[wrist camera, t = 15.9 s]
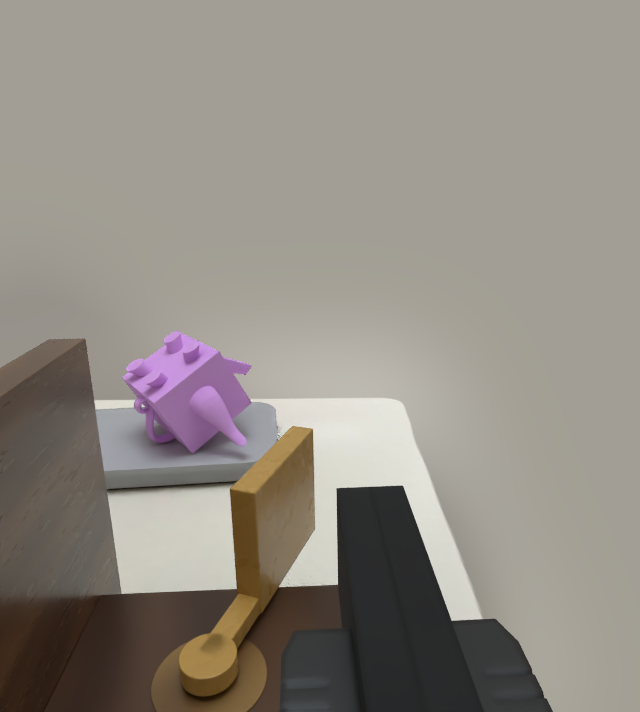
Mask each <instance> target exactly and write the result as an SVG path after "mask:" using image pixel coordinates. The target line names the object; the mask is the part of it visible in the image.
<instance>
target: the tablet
mask: <svg viewBox="0 0 640 712" xmlns="http://www.w3.org/2000/svg"><path fill="white" fill-rule="evenodd" d="M141 408H142V409H144V408H145V407H141ZM95 411H96V418H97V425H98V432H99V439H100V446H101V453H102V460H103V467H104V474H105V481H106V488H107V489H113V488H130V487H146V486H162V485H179V484H195V483H211V482H228V481H238V480H239V479H240V478H241V477H242V476H243V475H244V474H245V473H246V472H247V471H248V470H249V469H250V468H251V467H252V466H253V465H254V464H255V463H256V462H257V461H258V460H259V459H260V458H261V457H262V456H263V455H264V454H265V453H266V452H267V451H268V450H269V449H270V448H271V447H272V446H273V445H274V444H275V443H276V442H277V431H276V410H275V408H274V407H273V406H271V405H269V404H266V403H261V402H251V404H250V405H249V406H248V407H247V408H245V409H244V410H243V411H242V412H241V413H240V414H238V415H237V416H236V417H235V418H234V419H233V420H232V421H233V423H234V424H235V426H236V428H237V429H238V430H239V432H240V433H241V434H242V435H243V436H244V437H245V438H246V440H247V443H246V445H244V446H239V445H236V444H235V443H233V442H232V441H231V440H230V439H229V438H228V437H227V436H226V435H225V434H223V433H222V432H221V431H219V432H218V433H217V434H215V435H214V436H213V437H212V438H211V439H209V440H208V441H207V442H206V443H205V444H204V445H202V446H201V447H200V448H199V449H198V450H197V451H195V452H194V453H191V452H190V451H189V450H188V449H187V448H186V447H184V446H183V445H182V444H181V443H180V442H179V441H178V440H176V439H173V440H172V441H170V442H167V443H156V442H154V441H152V440H151V439H150V438H149V437H148V435H147V432H146V413H145V414H141V413H138V412H137V411H136V410H135V408H118V409H97V410H95ZM154 432H155V435H156V436H162V435H165V434H167V433H168V432H167V431H166V430H165V429H164V428H163V427H161V426H160V425H159V424H158V423H157V422H156V420H155V419H154Z"/></svg>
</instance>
